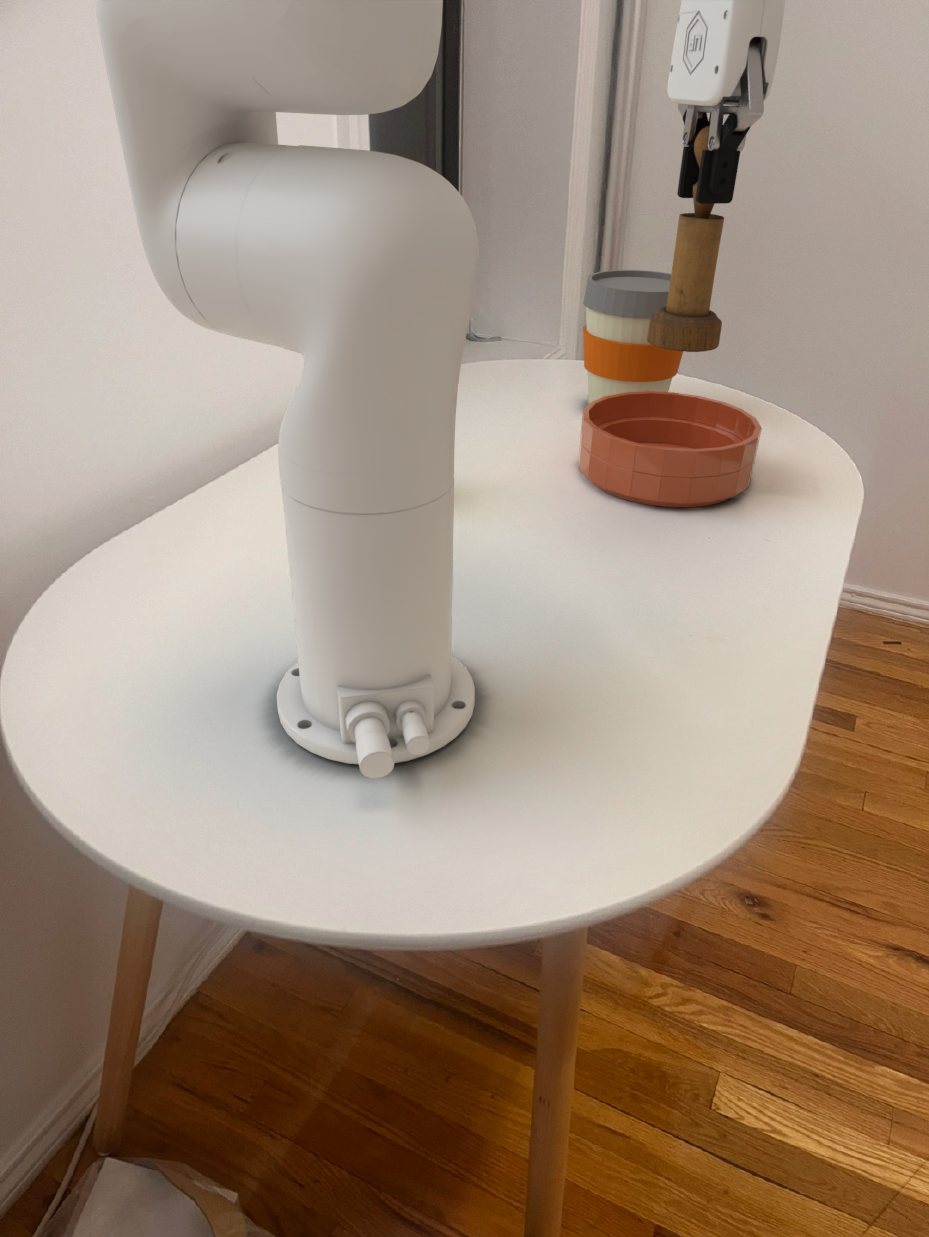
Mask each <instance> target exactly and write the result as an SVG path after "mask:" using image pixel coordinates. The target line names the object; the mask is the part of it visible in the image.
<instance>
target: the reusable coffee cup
mask: <svg viewBox="0 0 929 1237" xmlns="http://www.w3.org/2000/svg"><path fill="white" fill-rule="evenodd" d="M670 279H671V273H668V272H662V271H656V270H655V271H654V270H643V269H641V270H640V269H613V270H604V271H603V270H602V271H598V272H594V273H591V274H589V275H588V277H587V282H586V286H585V293H584V297H583V305H584V307H585V321H586V322H585V323H586V324H585V325H584V326H583V329H582V337H583V338H582V342H583V343H582V344H583V367H584V369H585V370H586V371H587V393H588V395H587V396H588V400H587V401H588V404H589V403H591V402H593V401H595V400H598V399H600V398H602V397H605V396H610V395H615V394H621V393H627V392H646V391H653V392H670V388H671V384H672V380H673V378H674V377H675V376H677V374H678V372H679V368H680V364H681V361H682V357H683V354H684V351H674V350H668V349H663V348H659V347H656V346H654V345H652V344H650V343H649V342H648V341H647V336H648V329H649V322H650V317H651V316H652V315H653V314H654V313H656V312H657V311H658V310H659V309H660V308H662V307H665V306H667V300H668V293H669V286H670Z"/></svg>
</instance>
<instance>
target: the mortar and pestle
mask: <svg viewBox="0 0 929 1237" xmlns="http://www.w3.org/2000/svg"><path fill="white" fill-rule="evenodd" d="M709 130H710V126H707V127H705V128H703V129H702V130H701V131H700V132H699V134H698V135H697V137H696V139H695V143H694V153H695V156H696V159H697V162H698V165H699V168H700V164H701V157H702V150H709V149H708V139H709ZM697 185H698V182H697V183H696V184H694V185H693V198H692V200H693V210H694V212H685V213H680V214H679V215H678V223H677V231H676V237H675V244H674V251H673V259H672V266H671V273H670V274H671V279H670V286H669V293H668V300H667V306H665V307H662V308H660V309H659V310H658V311H657V312H656V313H654V314H653V315H652V316H651V317H650V322H649V329H648V336H647V341H648V342H649V343H650V344H652V345H654V346H656V347H659V348H663V349H668V350H674V351H683V352H686V353H698V352H699V353H700V352H701V353H703V352H709V351H714V350H716V349H717V348H719V345H720V342H721V341H720V339H721V333H722V326H723V322H722V320H721V319H720V318H719V316H718V315H717V314H716V312H715V311H712V310H710V308H711V302H712V296H713V289H714V282H715V275H716V269H717V265H718V264H717V263H718V256H719V252H720V246H721V239H722V234H723V229H724V222H725V216H723V215H718V214H714V213H712V212H713V209H714V207H715V204H701V203H698V202H696V192H697Z"/></svg>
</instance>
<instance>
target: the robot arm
mask: <svg viewBox="0 0 929 1237" xmlns="http://www.w3.org/2000/svg"><path fill="white" fill-rule="evenodd" d="M443 3H444V0H95V10H96V18H97V25H98V29H99V35H100V42H101V47H102V48H101V49H102V53H103V58H104V63H105V68H106V73H107V78H108V83H109V84H108V85H109V88H110V93H111V99H112V103H113V109H114V114H115V118H116V124H117V130H118V134H119V138H120V139H119V140H120V144H121V149H122V155H123V159H124V164H125V168H126V173H127V179H128V184H129V188H130V193H131V199H132V203H133V208H134V213H135V217H136V223H137V227H138V231H139V235H140V239H141V242H142V246H143V250H144V253H145V256H146V259H147V262H148V264H149V267H150V269H151V272H152V274H153V276H154V278H155V281H156V282H157V284H158V286H159V288H160V290H161V291H162V293H163V294H164V296H165V297H166V298H167V300H168V301H169V302H170V303H171V305H172V306H173V307H174V308H175V309H176V310H178V312H179V313H180V314H181V315H183V316H184V317H185V318H186V319H188V320H189V321H191V322H193V323H195V324H196V325H198V326H201V327H202V328H204V329H206V330H207V329H208V330H210V331H214V332H216V333H220V334H223V335H228V336H231V337H234V338H238V339H243V340H248V341H251V342H255V343H261V344H264V345H269V346H273V347H277V348H282V349H284V350H288V351H289V352H293V353H298V354H300V355H302V357H303V361H304V362H303V371H302V373H301V378H300V379H299V382H298V385H297V386H296V389H295V391H294V393H293V395H292V397H291V399H290V401H289V403H288V405H287V407H286V409H285V411H284V414H283V417H282V419H281V423H280V427H279V434H278V441H277V442H278V443H277V456H278V457H277V458H278V470H279V481H280V482H279V483H280V487H281V498H282V509H283V519H284V528H285V529H284V530H285V538H286V539H285V540H286V549H287V550H286V551H287V560H288V561H287V562H288V570H289V571H288V572H289V581H290V591H291V601H292V612H293V621H294V622H293V623H294V633H295V640H296V641H295V643H296V653H297V662H295V663H294V664H293V665H292V666H291V667H290V668H289V669H288V670H287V671H286V672H285V673H284V676H282V679H281V681H280V682H279V684H278V688H277V693H276V705H277V707H276V708H277V714H278V718H279V721H280V724H281V726H282V727H283V730H284V731H285V732H286V734H287V736H289V737H290V738H291V739H292V740H293V741H294V742H295V743H296V744H297V745H299V746H301V747H302V748H303V749H305V750H307V751H308V752H310V753H312V754H315V755H316V756H319V757H322V758H325V759H326V760H327V759H328V760H331V761H334V762H340V763H344V764H348V765H349V764H350V765H358V767H359V772H360V773H361V775H363V777H366V778H367V779H371V780H376V779H377V780H378V779H382V778H384V777H386V776H389V775H390V773H391V772H392V771H394V768H395V764H398V763H404V762H408V761H412V760H416V759H418V758H421V757H424V756H427V755H429V754H432V753H434V752H435V751H438V750H440V749H441V748H443V747H446V746H447V744H449V743H450V742H452V741H453V740H455V739H456V738H457V737H458V736H459V735H460V734H461V733H462V732H463V730H465V729H466V727H467V726H468V724H469V722H470V720H471V718H472V717H473V713H474V708H475V702H476V700H475V698H476V696H475V695H476V688H475V683H474V679H473V676H472V675H471V673H470V671H469V670H468V668H467V667H466V666H465V664H463V663H462V662H461V661H460V659H458V658H457V657H456V656H454V655H453V654H452V650H453V649H452V645H453V643H452V641H453V586H454V585H453V581H454V576H453V575H454V525H455V524H454V520H455V519H454V517H455V514H454V513H455V448H456V446H455V444H456V443H455V441H456V440H455V439H456V419H457V405H458V392H459V382H460V374H461V367H462V361H463V356H464V350H465V344H466V339H467V333H468V330H469V325H470V319H471V315H472V311H473V305H474V301H475V296H476V289H477V284H478V278H479V277H478V276H479V265H480V264H479V263H480V244H479V237H478V231H477V227H476V222H475V220H474V217H473V214H472V212H471V210H470V208H469V206H468V204H467V203H466V202H467V201H466V200H465V198H464V197H463V196H462V194H461V193H460V192H459V191H458V190H457V188H456V187H455V186H454V185H453V184H452V183H451V182H450V181H449V180H448V179H446V178H445V177H444V176H443V175H442V174H440V173H439V172H437V171H436V170H433V169H432V168H430V167H429V166H427V165H425V164H423V163H421V162H418V161H415V160H413V159H410V158H406V157H405V156H401V155H397V154H391V153H386V152H381V151H376V150H366V149H356V148H355V149H354V148H342V147H330V146H316V145H303V144H302V145H301V144H300V145H288V144H279V137H278V136H279V135H278V123H277V113H286V114H306V115H307V114H308V115H327V116H329V115H331V116H365V115H374V114H380V113H381V114H382V113H387V112H389V111H392V110H395V109H399V108H401V107H404V106H405V105H407V104H408V103H409V102H411V101H412V100H414V99H415V98H417V96H419V94H421V93H422V91H423V90H424V88H425V87H426V85H427V83H428V82H429V80H430V79H431V77H432V75H433V72H434V70H435V66H436V63H437V59H438V56H439V51H440V49H439V48H440V41H441V34H442V26H443V24H442V23H443V6H444V4H443ZM785 6H786V0H681V3H680V7H679V11H678V17H677V23H676V29H675V35H674V40H673V47H672V53H671V59H670V66H669V72H668V80H667V90H666V93H667V96H668V98H669V99H670V101H671V102H672V103H675V104H677V109H678V112H679V113H680V115H681V117H682V121H683V132H682V139H681V143H682V145H683V147H682V148H683V149H682V157H681V163H680V169H679V170H680V171H679V178H678V185H677V192H676V194H677V197H679V198H682V199H693V185H694V184H696V183H697V182H698V185H697V192H696V202H698V203H701V204H714V205H717V204H730V203H732V201H733V199H734V193H735V186H736V182H737V175H738V168H739V164H740V157H741V152H742V151H743V150H744V148H745V145H746V140H747V134H748V133H749V131H750V129H751V127H752V126H754V124H755V123H756V122H758V121H759V120H760V119H761V118H762V117H763V115H764V112H765V103H764V102H765V101H766V100H767V99H768V97H769V96H770V93H771V90H772V87H773V83H774V82H773V81H774V77H775V73H776V67H777V63H778V58H779V57H778V56H779V50H780V45H781V37H782V29H783V20H784V12H785ZM708 114H709V117H708ZM725 116H727V117H726V119H725V118H724V117H725ZM724 119H725V121H724ZM707 126H710V130H709V139H708V149H709V150H702V157H701V164H700V168H699V165H698V162H697V159H696V156H695V153H694V143H695V139H696V137H697V135H698V134H699V132H700V131H701V130H702V129H703V128H705V127H707Z"/></svg>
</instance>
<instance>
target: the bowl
mask: <svg viewBox="0 0 929 1237" xmlns="http://www.w3.org/2000/svg"><path fill="white" fill-rule="evenodd" d="M581 414H582V415H581V424H580V425H581V426H580V434H579V435H580V438H579V446H578V448H579V449H578V455H577V456H578V457H577V458H578V460H577V461H578V469H579V470H580V472H581V473H582V474H583V475H584V476H585V477H586V478H587V479H588V480H589V481H590V482H591V483H593V485H595V486H596V487H597V488H598V489H600V490H602V491H604V492H606V493H608V494H610V495H613V496H615V497H618V498H620V499H622V500H623V499H624V500H627V501H630V502H633V503H634V502H635V503H639V504H643V505H648V506H656V507H666V508H697V507H706V506H710V505H715V504H719V503H722V502H725V501H727V500H729V499H731V498H733V497H736V496H737V495H739V494H740V493H741V492H744V490H746V489H748V487H749V485H750V483H751V480H752V477H753V472H754V468H755V463H756V457H757V453H758V449H759V448H758V447H759V443H760V439H761V433H762V430H763V428H762V426H761V425H760V422H759V420H758V419H757V418H756V417H755V416H753V415H752V414H751V413H750V412H749V413H748V411H746V410H744V409H743V408H740V407H737V406H735V405H732V404H730V403H727V402H726V401H725V402H724V401H721V400H717V399H713V398H709V397H705V396H699V395H696V394H695V395H694V394H687V393H681V392H674V391H673V392H671V391H668V392H653V391H646V392H627V393H621V394H615V395H610V396H605V397H602V398H600V399H598V400H595V401H593V402H591V403H589V402H588V404H587V406H585V407H584V408H583V409H582V413H581Z"/></svg>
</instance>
